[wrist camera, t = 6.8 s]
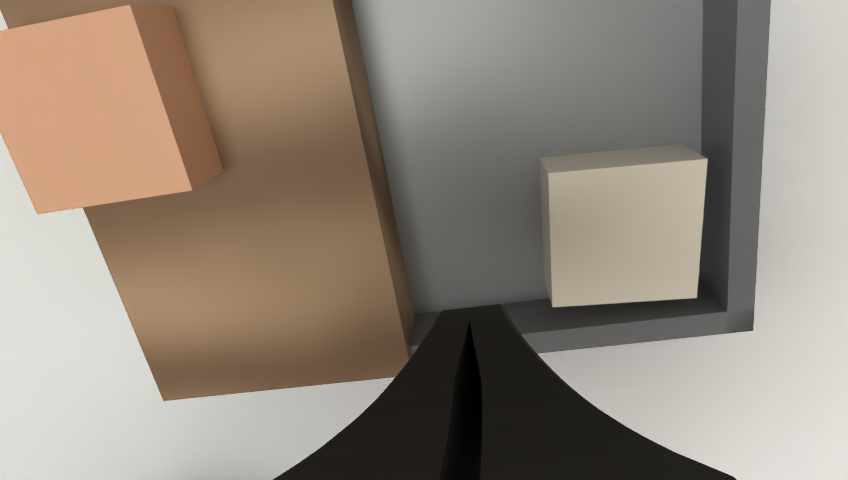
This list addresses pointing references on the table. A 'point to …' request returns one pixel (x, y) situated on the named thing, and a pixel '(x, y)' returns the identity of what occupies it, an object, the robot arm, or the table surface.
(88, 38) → the terracotta tile
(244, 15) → the walnut board
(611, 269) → the cream tile
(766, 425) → the table surface
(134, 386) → the table surface
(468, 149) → the bin
